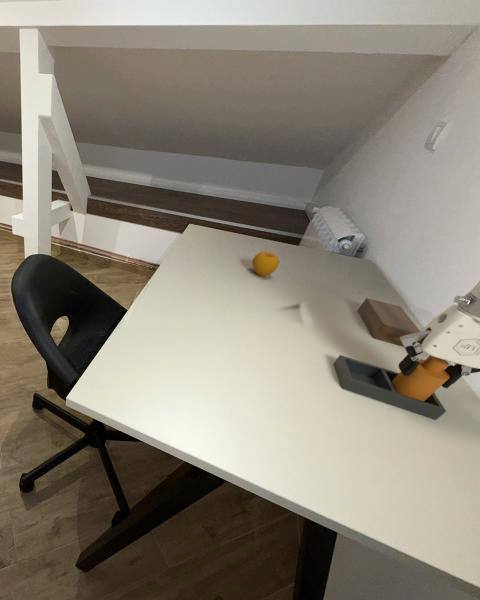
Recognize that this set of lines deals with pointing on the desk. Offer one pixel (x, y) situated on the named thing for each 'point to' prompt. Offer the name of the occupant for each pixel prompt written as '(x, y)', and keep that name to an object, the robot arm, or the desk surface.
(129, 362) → the desk surface
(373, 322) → the wooden block
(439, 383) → the bottle
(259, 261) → the apple
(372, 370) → the grey divided tray
